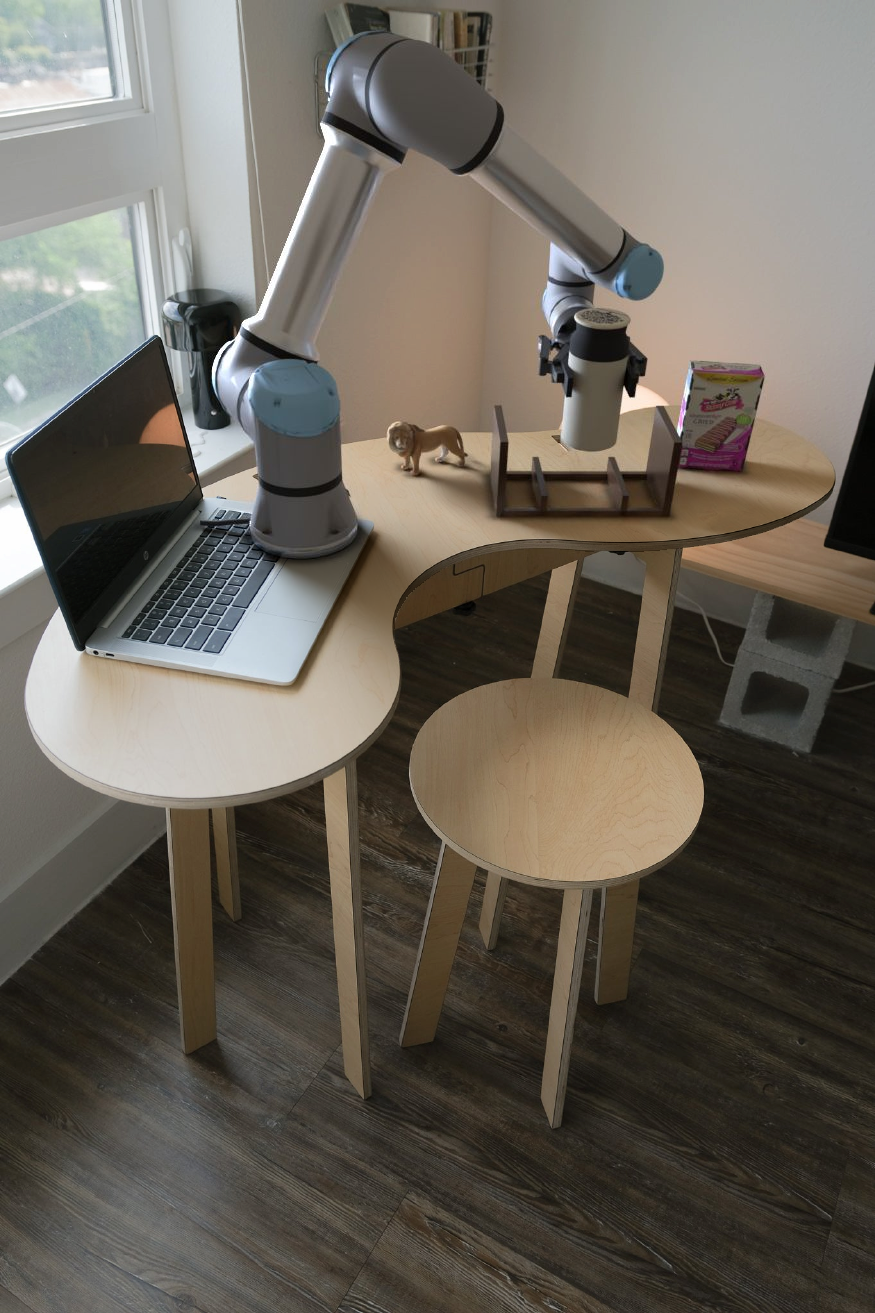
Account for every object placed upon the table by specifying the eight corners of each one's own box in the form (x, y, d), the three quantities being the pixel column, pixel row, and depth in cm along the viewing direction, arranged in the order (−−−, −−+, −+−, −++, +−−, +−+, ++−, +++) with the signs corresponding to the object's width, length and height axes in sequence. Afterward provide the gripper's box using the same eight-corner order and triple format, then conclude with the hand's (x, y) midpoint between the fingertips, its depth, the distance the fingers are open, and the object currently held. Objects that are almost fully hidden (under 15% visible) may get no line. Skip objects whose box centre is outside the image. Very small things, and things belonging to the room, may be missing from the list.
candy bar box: (674, 469, 162) (691, 370, 152) (671, 455, 166) (688, 359, 156) (744, 473, 161) (766, 374, 151) (740, 459, 165) (761, 362, 155)
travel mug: (591, 458, 140) (606, 330, 129) (549, 440, 145) (560, 315, 134) (627, 442, 145) (644, 317, 134) (585, 425, 149) (598, 303, 138)
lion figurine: (396, 485, 156) (396, 431, 151) (380, 471, 160) (379, 418, 154) (475, 464, 162) (478, 411, 157) (458, 451, 166) (459, 400, 161)
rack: (496, 516, 149) (500, 441, 141) (490, 476, 159) (493, 404, 152) (669, 516, 149) (682, 442, 142) (652, 476, 160) (663, 405, 152)
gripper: (641, 354, 156) (673, 414, 137) (508, 353, 155) (523, 414, 137) (648, 305, 151) (682, 361, 133) (511, 304, 150) (526, 360, 132)
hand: (601, 387), depth 135 cm, fingers closed on travel mug, 8 cm apart
